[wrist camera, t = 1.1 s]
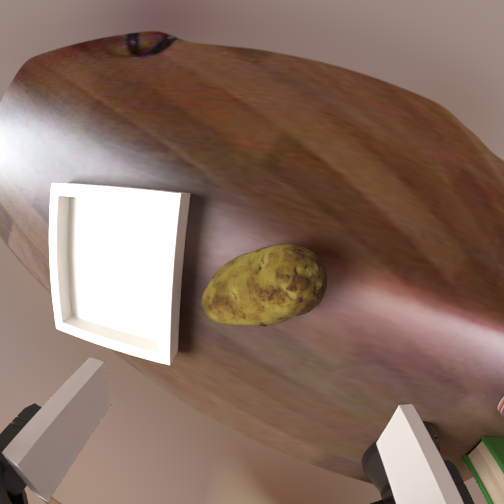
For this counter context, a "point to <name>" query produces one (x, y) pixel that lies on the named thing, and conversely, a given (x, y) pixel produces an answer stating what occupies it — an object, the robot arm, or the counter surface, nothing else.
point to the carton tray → (118, 266)
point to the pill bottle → (501, 406)
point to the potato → (266, 286)
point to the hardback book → (488, 468)
